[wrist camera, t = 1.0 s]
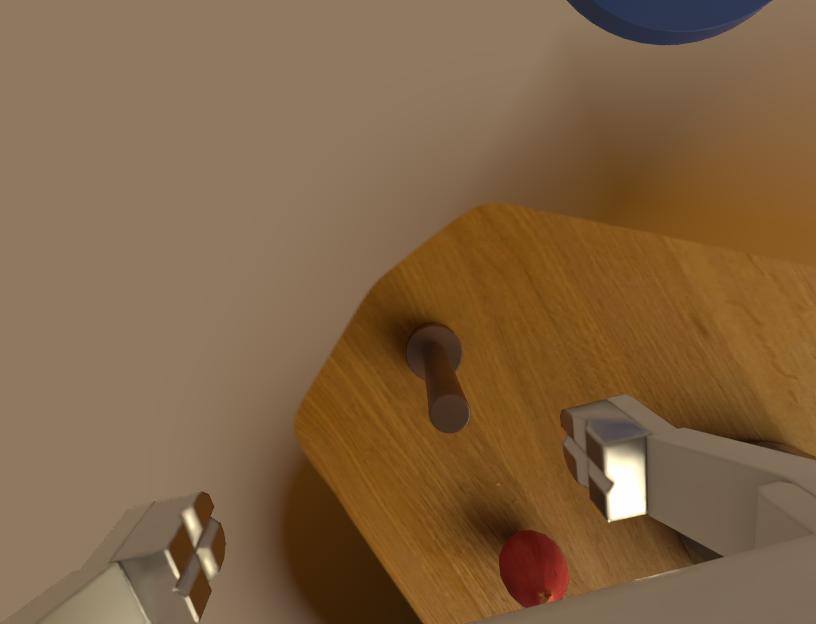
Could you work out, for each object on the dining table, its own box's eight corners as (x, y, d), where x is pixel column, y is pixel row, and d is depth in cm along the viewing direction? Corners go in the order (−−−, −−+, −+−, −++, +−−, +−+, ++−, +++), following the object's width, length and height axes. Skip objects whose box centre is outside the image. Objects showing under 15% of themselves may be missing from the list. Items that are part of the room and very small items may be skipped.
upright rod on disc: (411, 318, 37) (408, 354, 19) (464, 328, 37) (511, 373, 19) (402, 370, 38) (389, 453, 19) (454, 379, 38) (490, 472, 19)
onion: (562, 553, 39) (599, 623, 31) (509, 579, 39) (533, 655, 31) (534, 502, 38) (566, 560, 30) (481, 529, 39) (498, 593, 31)
